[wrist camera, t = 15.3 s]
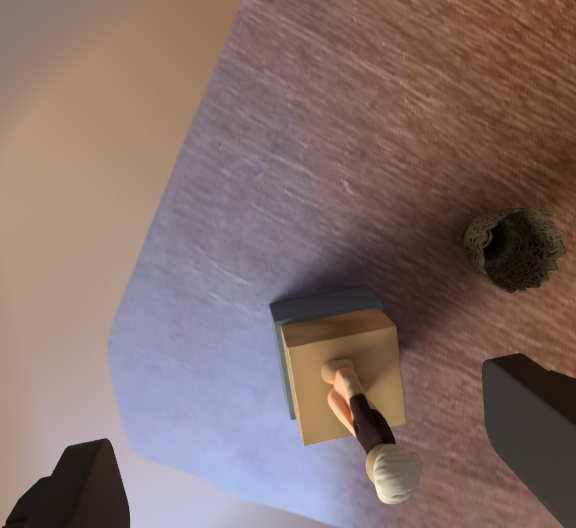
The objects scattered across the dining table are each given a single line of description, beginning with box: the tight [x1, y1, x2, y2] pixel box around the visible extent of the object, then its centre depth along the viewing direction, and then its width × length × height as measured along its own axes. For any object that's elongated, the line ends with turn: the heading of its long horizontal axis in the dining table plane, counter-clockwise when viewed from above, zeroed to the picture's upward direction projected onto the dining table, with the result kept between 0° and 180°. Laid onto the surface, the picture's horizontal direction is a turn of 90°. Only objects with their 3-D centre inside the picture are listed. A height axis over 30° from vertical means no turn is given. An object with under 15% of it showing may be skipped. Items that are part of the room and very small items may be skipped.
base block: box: [269, 286, 383, 420], centre depth 47 cm, size 10×10×5 cm
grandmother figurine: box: [321, 359, 422, 504], centre depth 33 cm, size 8×4×13 cm, turn 37°
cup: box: [463, 208, 565, 293], centre depth 45 cm, size 8×7×8 cm
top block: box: [280, 307, 406, 446], centre depth 42 cm, size 9×9×5 cm
